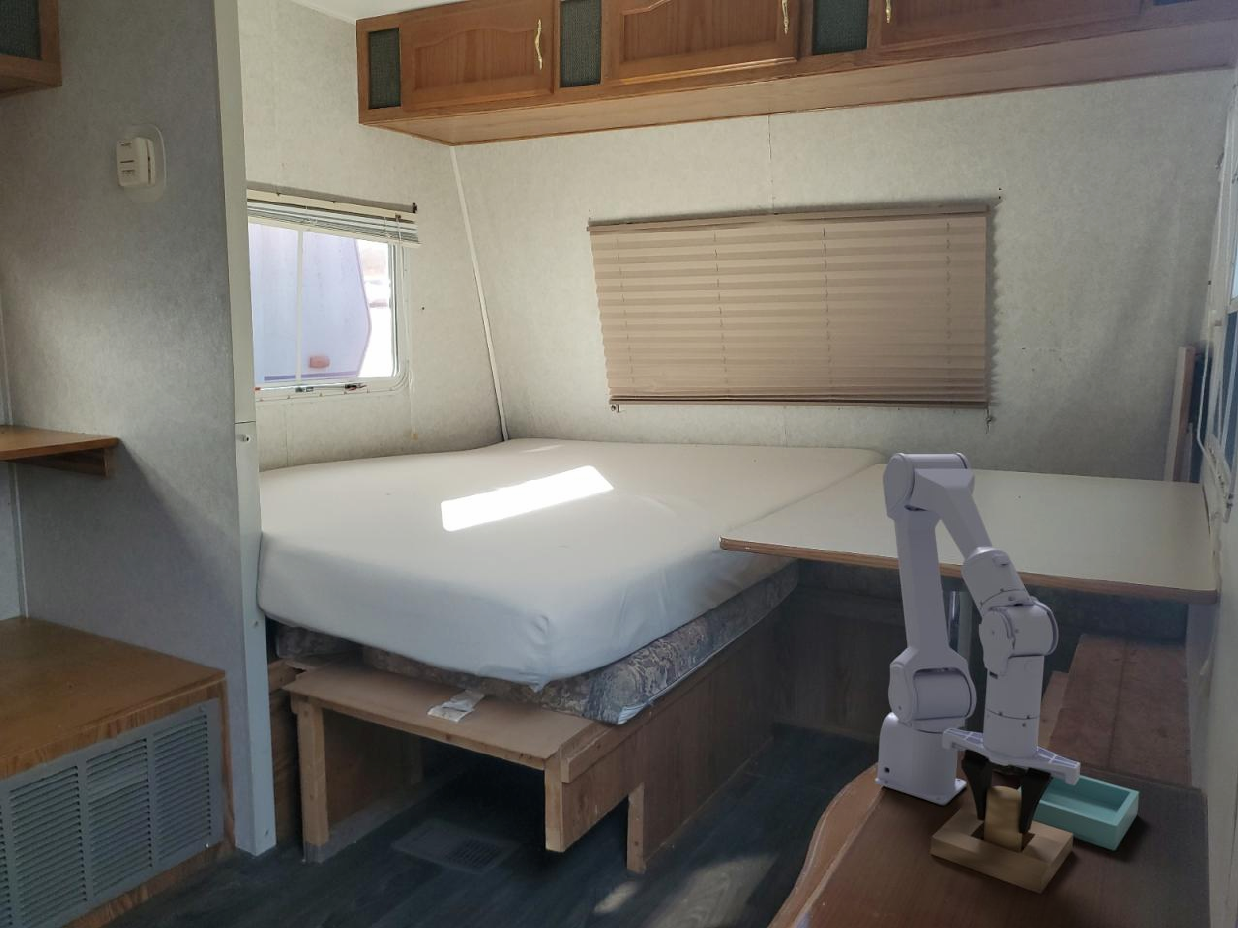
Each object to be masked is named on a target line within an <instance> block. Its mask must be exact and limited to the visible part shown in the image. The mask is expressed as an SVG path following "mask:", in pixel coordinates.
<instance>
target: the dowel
mask: <svg viewBox="0 0 1238 928" xmlns="http://www.w3.org/2000/svg"><path fill="white" fill-rule="evenodd" d="M1020 814H1021V792H1020V791H1018V789H1015V788H1013V787H1008V786H1001V785H993V786H991V787H990V788H988V789H987V800H986V813H985V827H984V836H983V841H985V842H988V843H991V844H994V845H997V846H1000V847H1002V848H1005V849H1008V850H1011V851H1014V852H1017V853H1021V852H1022V851H1021V850H1022V846H1021V842H1022V834H1021V833H1019V821H1020Z"/></svg>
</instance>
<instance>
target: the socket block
mask: <svg viewBox="0 0 1238 928" xmlns="http://www.w3.org/2000/svg"><path fill="white" fill-rule="evenodd" d="M984 827H985V820H984V821H981V820H978V819H977V811H976V805H975V801H974V800H968V801H966V803H964V805H962V807H961V808H959V810H958V811H956V812H955V814H953V816H951V817H950V819H948V820H947V821H946V822H945V823H944V824H943V825H942V826H941V827H940V828H939V829H938V830H937V831H936V832H935V833H933V835H932V836H931V837H930V850H929V851H930V852H929V854H930V855H933V856H936V857H939V858H941V859H944V860H947V861H948V862H949V861H950V862H952V863H955V864H957V865H960V866H963V867H966V868H969V869H971V870H974V871H977V872H978V873H979V872H980V873H982V874H984V875H987V876H991V877H993V878H996V879H999V880H1001V881H1004V882H1005V883H1006V882H1007V883H1010V884H1012V885H1014V886H1017V887H1020V888H1022V889H1025V890H1028V891H1030V892H1034V893H1037V894H1040V895H1041V894H1042V893H1043V892H1044V890H1045V889H1046V887H1047V886H1048V884H1049V883H1050V881H1051V880H1052V878H1053V877H1054V876H1055V875H1056V873H1057V872H1058V871H1059V869H1060V867H1061V866H1062V864H1063V863H1064V862H1065V861H1066V859H1067V858H1068V856H1069V855H1070V853H1071V852H1072V851H1073V841H1074V837H1073V833H1070V832H1067V831H1064V830H1061V829H1057V828H1054V827H1051V826H1048V825H1045V824H1042V823H1039V822H1036V821H1033V820H1032V824H1031V829H1030V830H1029V831H1028V832H1027V834H1026V835H1024V834H1022V842H1021V848H1024V849H1022V851H1021V853H1017V852H1014V851H1011V850H1008V849H1005V848H1002V847H1000V846H997V845H994V844H991V843H988V842H985V841H984V840H982V838H984Z"/></svg>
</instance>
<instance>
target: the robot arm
mask: <svg viewBox="0 0 1238 928" xmlns="http://www.w3.org/2000/svg"><path fill="white" fill-rule="evenodd" d="M975 476H976V475H975V473H974V472H973V469H972V466H971V464H970V462H969V459H968V458H967V457H966V456H965V455H964V454H963V453H960V452H953V453H949V454H948V453H941V454H940V453H937V454H936V453H934V454H933V453H932V454H931V453H930V454H929V453H928V454H927V453H925V454H921V453H920V454H919V453H915V454H913V453H911V454H910V453H909V454H905V453H903V452H897V453H894V454H893V455H892V456H891V457H890V459H889V460H888V462H887V463H886V466H885V469H884V471H883V473H882V484H883V493H884V494H883V495H884V502H885V503H884V505H885V508H886V516H887V517H888V518H889V519H891V520H892V521H893V526H894V534H895V544H896V553H897V561H898V571H899V579H900V580H899V581H900V585H901V586H900V589H901V597H902V599H901V600H902V606H903V615H904V616H903V617H904V625H905V626H904V627H905V635H906V642H907V648H905V649H904V650H903V651H902V652H901V654H900V655H898V656H897V657H896V658H895V659H894V660H893V661H892V662H891V663H890V664H889V685H888V689H887V694H888V695H887V697H888V703H889V706H890V709H891V712H889V713H888V714H887V715H886V717H885V718H884V720H883V723H882V724H881V725H882V726H881V728H880V734H879V744H878V745H879V748H878V763H877V764H878V766H877V777H876V778H875V780H874V783H875V784H877V785H880V786H883V787H887V788H889V789H892V790H896V791H898V792H901V793H905V794H907V795H910V796H913V797H916V798H919V799H921V800H922V799H923V800H926V801H928V802H932V803H935V804H937V805H941V806H945V805H947V804H948V803H949V802H950V801H951V800H952V799H953V798H954V797H955V796H956V795H958V794H959V793H960V792H961V791H962V790H963V789H964V788H965V787H966V786H967V781H968V784H969V786H970V789H971V792H972V795H973V796H972V797H973V801H974V802H975V805H976V811H977V819H978V820H981V821H984V820H985V813H986V800H987V789H988V788H990V787H992V779H993V773H994V771H993V769H994V763H997V764H1000V765H1004V766H1007V765H1009V764H1010V765H1014V766H1017V767H1021V768H1024V769H1028V772H1027V773H1025V774H1024V775H1022V776H1021V777H1020V781H1019V782H1020V787H1021V814H1020V821H1019V833H1021V834H1024V835H1026V834H1027V832H1028V831H1029V830H1030V829H1031V824H1032V820H1033V816H1034V813H1035V811H1036V808H1037V806H1038V804H1039V802H1040V800H1041V798H1042V796H1043V794H1044V792H1045V790H1046V789H1047V787H1048V786H1049V784H1050V782H1051V781H1052V779H1053V778H1054V777H1056V778H1059V779H1063V780H1065V783H1068V784H1072V785H1075V784H1076V783H1077V782H1078V780H1079V776H1080V775H1081V774H1080V772H1081V762H1079V761H1075V760H1072V759H1069V758H1067V757H1063V756H1061V755H1059V754H1056V753H1054V752H1051V751H1049V750H1046V749H1045V748H1042V747H1039V746H1038V744H1039V743H1038V741H1039V727H1040V714H1041V703H1042V689H1043V680H1044V679H1043V678H1044V677H1043V676H1044V666H1045V664H1044V663H1045V656H1048V655H1051V654H1052V653H1053V652H1054V651H1055V650H1056V648H1057V645H1058V642H1059V627H1058V623H1057V620H1056V618H1055V616H1054V613H1053V610H1052V609H1050V607H1049V606H1047V605H1046V604H1044V603H1042V602H1040V601H1039V600H1038V598H1037V597H1035V596H1031V595H1030V594H1029V592H1028V591H1027V589H1026V587H1025V586H1026V585H1024V583H1023V581H1022V578H1021V577H1020V575H1019V573H1018V571H1017V569H1016V567H1015V566H1014V564H1013V562H1012V559H1011V558H1010V555H1009V554H1008V553H1007V552H1006V551H1004V550H1002V549H998V548H995V547H993V544H992V541H991V539H990V537H989V533H988V532H987V530H986V525H985V524H984V522H983V520H982V517H981V515H980V512H979V510H978V507H977V505H976V502H975V500H974V496H973V494H974V489H975V481H976V479H975V478H976V477H975ZM940 520H941V521H942V523H943V525H944V527H945V529H946V530H947V532H948V534H949V535H950V537H951V538H952V540H953V542H954V544H955V545H956V547H957V548H958V550H959V551H960V554H961V555H962V556H963V558H964V560H963V562H962V565H961V568H960V574H961V577H962V578H963V580H964V583H965V585H966V586H967V589H968V591H969V593H970V595H971V598H972V599H973V601H974V604H975V605H976V608H977V609H978V612H979V614H980V617H981V623H979V624H978V635H979V639H980V642H981V645H982V651H983V658H982V659H983V663H984V668H986V669H987V675H986V676H987V677H986V688H985V689H986V690H985V691H986V692H985V701H984V702H985V704H984V716H983V717H984V718H983V729H982V730H983V732H976V731H968V730H963V729H960V727H965V726H966V725H965V724H966V719H969V718H970V717H971V716H972V715H973V714H974V711H975V709H976V704H977V698H978V697H977V690H976V687H975V684H974V682H973V680H972V678H971V675H970V670H969V664H968V661H967V660H966V659H965V658H964V657H962V655H960V654H959V653H958V652H956V651H955V650H954V649H952V647H950V646H949V638H948V629H947V621H946V620H947V619H946V613H945V604H944V595H943V588H942V586H943V585H942V579H941V577H942V576H941V570H940V561H939V551H938V546H937V545H938V543H937V536H936V526H937V525H938V523H939V522H940ZM925 669H928V670H929V669H941V671H927V672H926V671H925V672H924V671H923V672H917V671H919V670H925ZM958 751H960V752H961V751H962V752H964V756H963V758H962V759H961V760H960V765H961V769H962V772H963V773H964V775H965V777H966V779H967V781H966V780H963V779H961V778H957V766H958V765H957V764H958V753H959V752H958Z"/></svg>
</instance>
